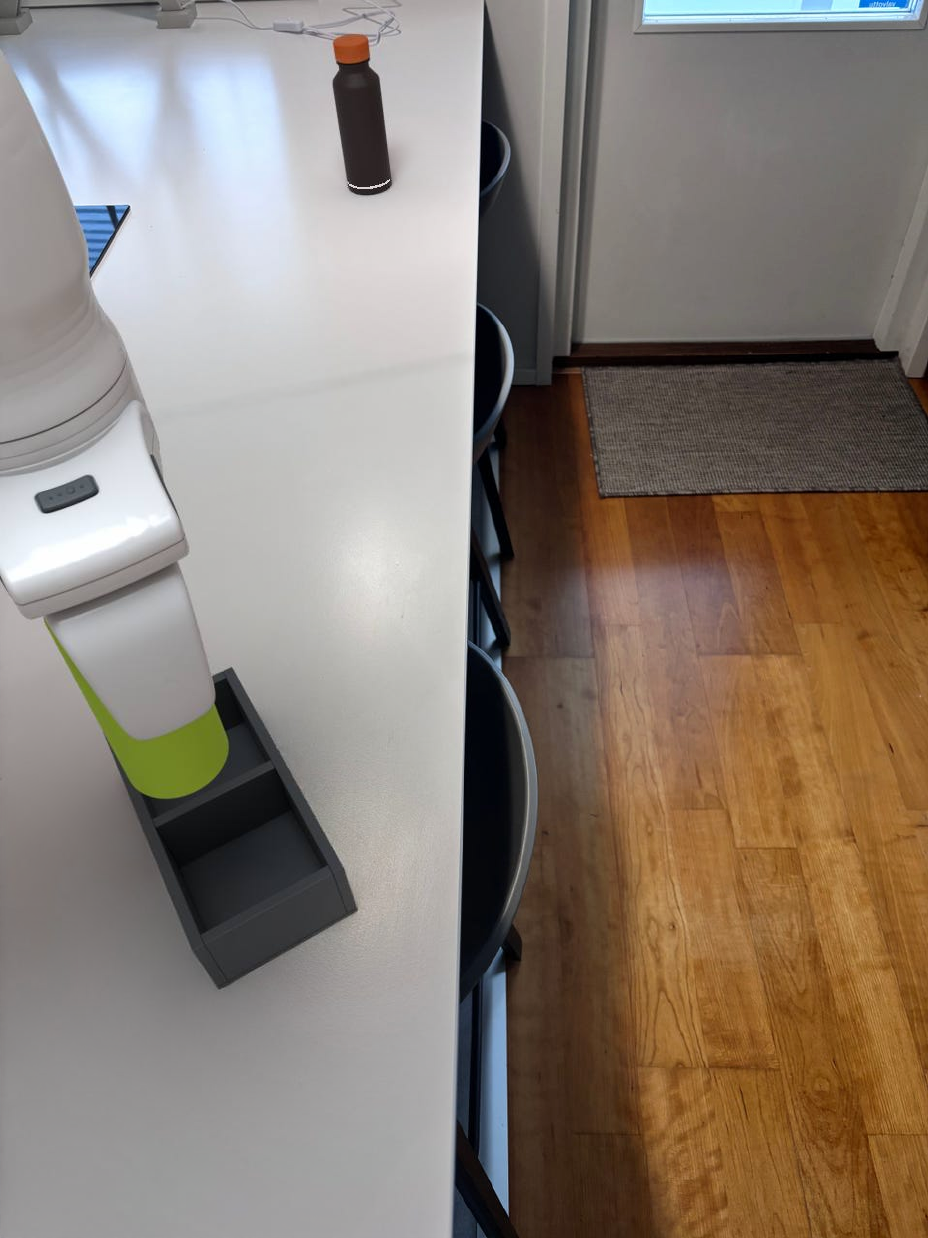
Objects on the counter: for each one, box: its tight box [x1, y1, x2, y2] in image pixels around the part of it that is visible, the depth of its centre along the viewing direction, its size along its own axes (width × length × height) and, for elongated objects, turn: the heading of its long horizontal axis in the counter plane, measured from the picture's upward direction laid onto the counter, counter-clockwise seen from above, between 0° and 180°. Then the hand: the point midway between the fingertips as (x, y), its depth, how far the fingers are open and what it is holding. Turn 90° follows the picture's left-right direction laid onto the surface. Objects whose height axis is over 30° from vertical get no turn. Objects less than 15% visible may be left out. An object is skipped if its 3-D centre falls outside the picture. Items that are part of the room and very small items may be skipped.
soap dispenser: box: [42, 616, 229, 799], centre depth 48 cm, size 6×7×20 cm
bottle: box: [331, 33, 392, 195], centre depth 138 cm, size 7×7×20 cm
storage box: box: [102, 666, 359, 990], centre depth 70 cm, size 11×20×6 cm, turn 31°
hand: (143, 654), depth 49 cm, fingers closed on soap dispenser, 6 cm apart
